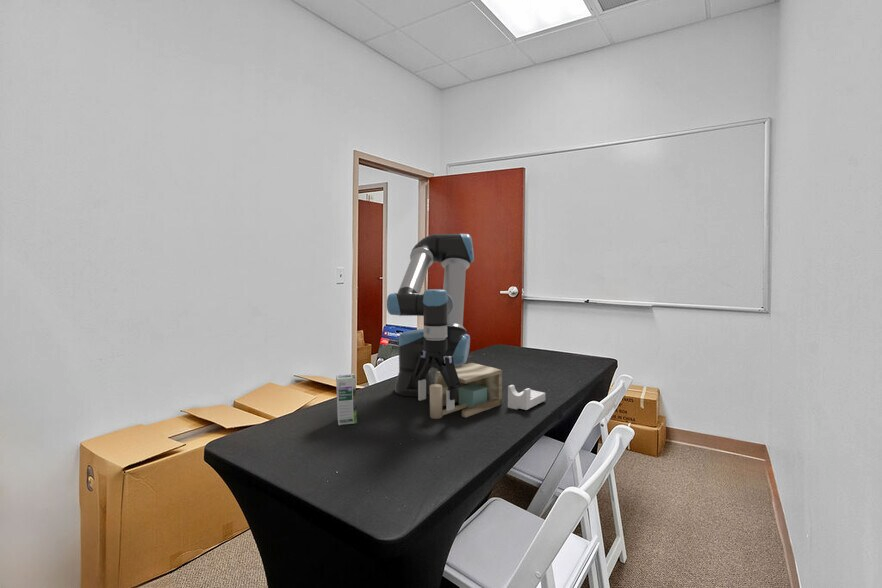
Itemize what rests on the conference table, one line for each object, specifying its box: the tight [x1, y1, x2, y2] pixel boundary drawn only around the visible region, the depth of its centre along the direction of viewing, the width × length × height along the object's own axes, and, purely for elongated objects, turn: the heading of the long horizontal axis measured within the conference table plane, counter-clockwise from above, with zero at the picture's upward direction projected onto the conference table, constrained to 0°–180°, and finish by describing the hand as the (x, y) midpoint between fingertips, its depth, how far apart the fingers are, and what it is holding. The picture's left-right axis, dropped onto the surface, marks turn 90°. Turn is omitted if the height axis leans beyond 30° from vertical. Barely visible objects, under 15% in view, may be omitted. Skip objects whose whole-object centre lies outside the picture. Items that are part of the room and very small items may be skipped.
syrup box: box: [335, 373, 358, 426], centre depth 134 cm, size 6×6×14 cm
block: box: [429, 383, 487, 420], centre depth 144 cm, size 7×22×10 cm, turn 132°
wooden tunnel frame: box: [434, 362, 503, 418], centre depth 148 cm, size 14×18×12 cm
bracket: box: [507, 384, 546, 411], centre depth 148 cm, size 13×7×8 cm, turn 139°
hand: (435, 404), depth 137 cm, fingers open, 13 cm apart
